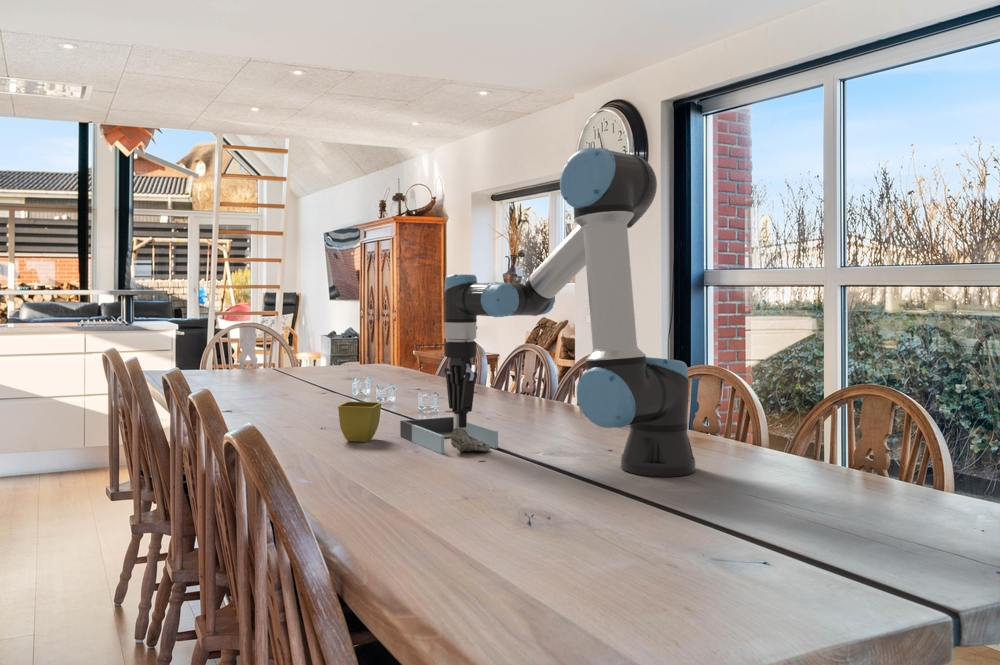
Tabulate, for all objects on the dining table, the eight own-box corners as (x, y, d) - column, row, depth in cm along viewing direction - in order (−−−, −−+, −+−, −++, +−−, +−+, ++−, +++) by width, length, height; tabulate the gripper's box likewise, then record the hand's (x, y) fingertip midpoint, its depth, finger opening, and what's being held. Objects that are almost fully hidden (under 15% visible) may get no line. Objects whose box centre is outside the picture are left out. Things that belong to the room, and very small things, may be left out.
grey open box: (465, 436, 207) (465, 420, 207) (411, 441, 200) (411, 425, 200) (453, 432, 214) (453, 416, 213) (400, 436, 207) (400, 420, 206)
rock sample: (490, 439, 182) (467, 411, 186) (464, 461, 181) (441, 432, 185) (500, 451, 191) (478, 424, 195) (475, 472, 191) (453, 444, 194)
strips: (497, 448, 192) (498, 431, 192) (440, 453, 185) (441, 436, 185) (465, 436, 207) (465, 420, 207) (411, 441, 200) (411, 425, 200)
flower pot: (382, 437, 205) (382, 401, 204) (373, 444, 196) (373, 406, 196) (347, 436, 206) (347, 401, 205) (337, 443, 197) (337, 406, 197)
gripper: (487, 341, 188) (487, 443, 189) (462, 338, 200) (462, 435, 201) (457, 342, 185) (457, 446, 186) (434, 339, 196) (434, 437, 197)
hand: (460, 440), depth 193 cm, fingers closed
